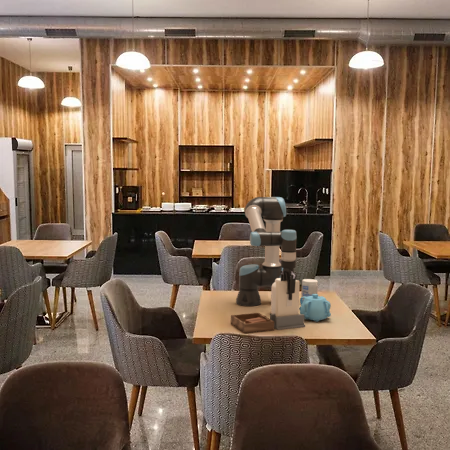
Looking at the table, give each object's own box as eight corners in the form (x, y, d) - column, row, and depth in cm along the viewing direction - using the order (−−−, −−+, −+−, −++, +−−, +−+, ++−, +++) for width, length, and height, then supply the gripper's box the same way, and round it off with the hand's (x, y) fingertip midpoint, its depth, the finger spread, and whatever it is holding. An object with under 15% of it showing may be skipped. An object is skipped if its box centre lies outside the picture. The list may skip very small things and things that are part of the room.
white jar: (278, 309, 303) (279, 275, 301) (297, 313, 295) (298, 278, 293) (266, 313, 293) (267, 278, 291) (285, 318, 285) (286, 281, 283)
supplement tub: (301, 305, 312) (301, 281, 311) (300, 302, 322) (301, 278, 320) (317, 306, 311) (318, 282, 310) (316, 302, 320) (317, 279, 319)
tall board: (275, 315, 269) (276, 281, 267) (295, 313, 273) (296, 279, 272) (278, 317, 266) (278, 282, 264) (298, 315, 270) (299, 281, 269)
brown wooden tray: (230, 323, 272) (230, 315, 272) (258, 320, 278) (258, 312, 278) (244, 333, 256) (245, 324, 255) (274, 330, 262) (274, 321, 261)
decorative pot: (331, 323, 276) (332, 298, 275) (301, 322, 277) (302, 297, 275) (327, 315, 292) (328, 291, 291) (298, 314, 293) (299, 290, 292)
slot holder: (268, 324, 272) (268, 313, 271) (295, 321, 278) (295, 310, 277) (277, 329, 263) (277, 318, 262) (305, 326, 268) (305, 315, 268)
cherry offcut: (245, 323, 264) (245, 319, 264) (259, 320, 269) (259, 317, 269) (252, 326, 259) (252, 322, 259) (266, 323, 264) (266, 320, 264)
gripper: (274, 258, 273) (273, 302, 275) (289, 262, 258) (288, 309, 260) (287, 257, 276) (286, 301, 278) (302, 262, 261) (301, 308, 263)
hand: (287, 305), depth 269 cm, fingers closed on tall board, 3 cm apart
